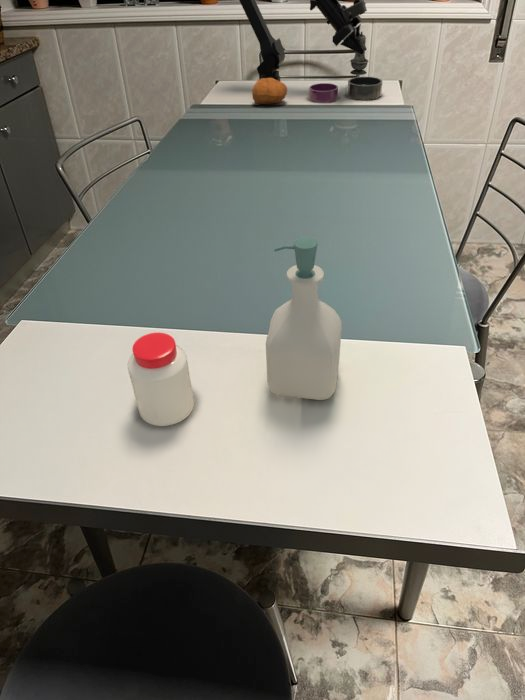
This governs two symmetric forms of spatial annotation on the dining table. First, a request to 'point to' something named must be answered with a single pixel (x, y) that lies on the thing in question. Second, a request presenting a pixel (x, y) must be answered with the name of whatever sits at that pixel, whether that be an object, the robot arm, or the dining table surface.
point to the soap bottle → (303, 333)
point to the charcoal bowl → (364, 88)
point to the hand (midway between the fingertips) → (364, 51)
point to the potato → (269, 91)
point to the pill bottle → (160, 380)
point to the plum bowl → (323, 93)
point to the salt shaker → (359, 58)
